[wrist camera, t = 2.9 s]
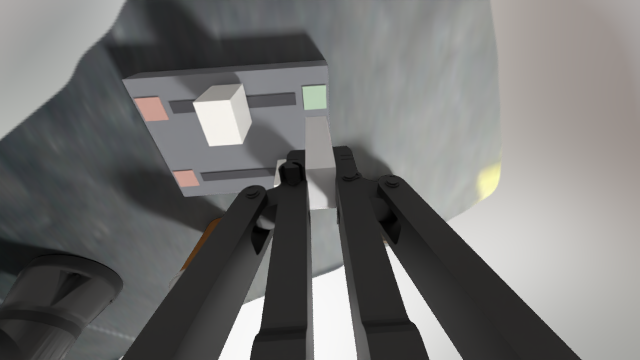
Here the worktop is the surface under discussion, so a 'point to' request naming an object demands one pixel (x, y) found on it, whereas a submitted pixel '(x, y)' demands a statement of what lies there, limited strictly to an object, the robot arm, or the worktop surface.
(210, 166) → the panel
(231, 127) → the block
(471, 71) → the worktop surface
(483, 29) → the worktop surface
